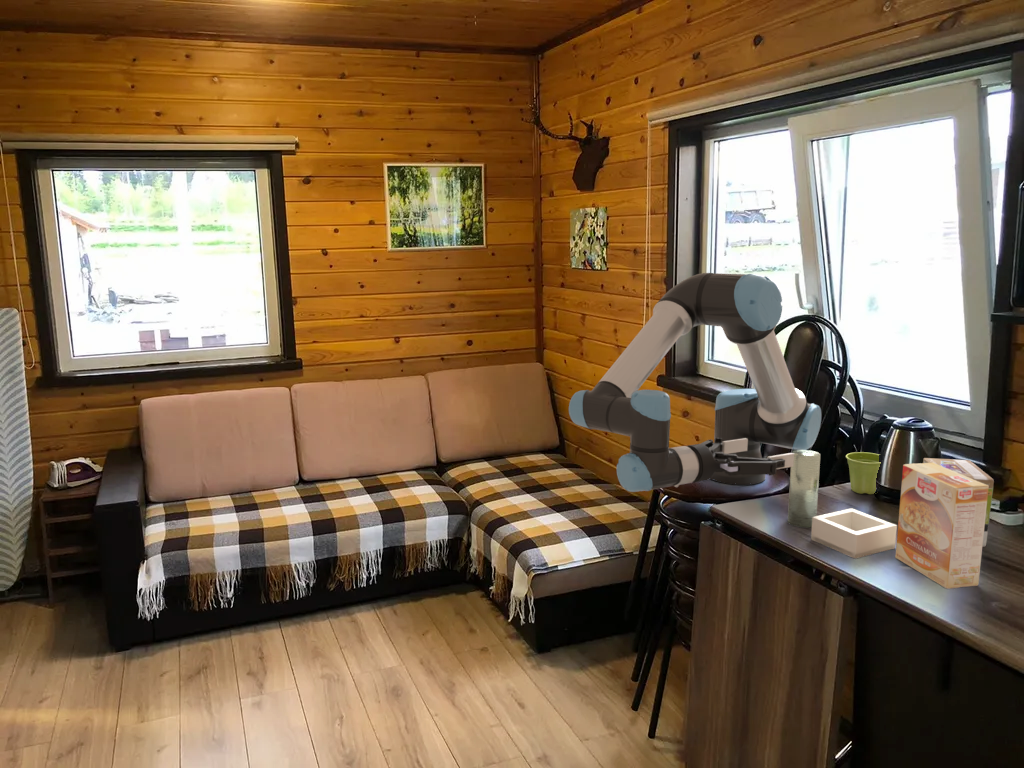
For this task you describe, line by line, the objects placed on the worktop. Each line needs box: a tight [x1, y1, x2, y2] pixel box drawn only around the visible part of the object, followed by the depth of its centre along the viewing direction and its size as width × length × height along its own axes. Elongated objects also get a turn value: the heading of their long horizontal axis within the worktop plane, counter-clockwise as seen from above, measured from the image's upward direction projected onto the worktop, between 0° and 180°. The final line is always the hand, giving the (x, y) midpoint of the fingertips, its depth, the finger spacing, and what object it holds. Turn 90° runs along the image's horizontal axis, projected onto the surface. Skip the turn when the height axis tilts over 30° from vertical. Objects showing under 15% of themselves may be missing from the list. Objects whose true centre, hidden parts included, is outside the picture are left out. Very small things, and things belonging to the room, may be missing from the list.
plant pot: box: [845, 451, 881, 495], centre depth 205 cm, size 9×9×9 cm
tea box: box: [922, 457, 995, 548], centre depth 176 cm, size 15×10×15 cm, turn 168°
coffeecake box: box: [894, 462, 989, 590], centre depth 157 cm, size 15×7×20 cm, turn 11°
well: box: [810, 507, 898, 559], centre depth 172 cm, size 12×12×5 cm
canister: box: [787, 449, 821, 528], centre depth 183 cm, size 6×6×16 cm
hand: (768, 451), depth 176 cm, fingers open, 13 cm apart
